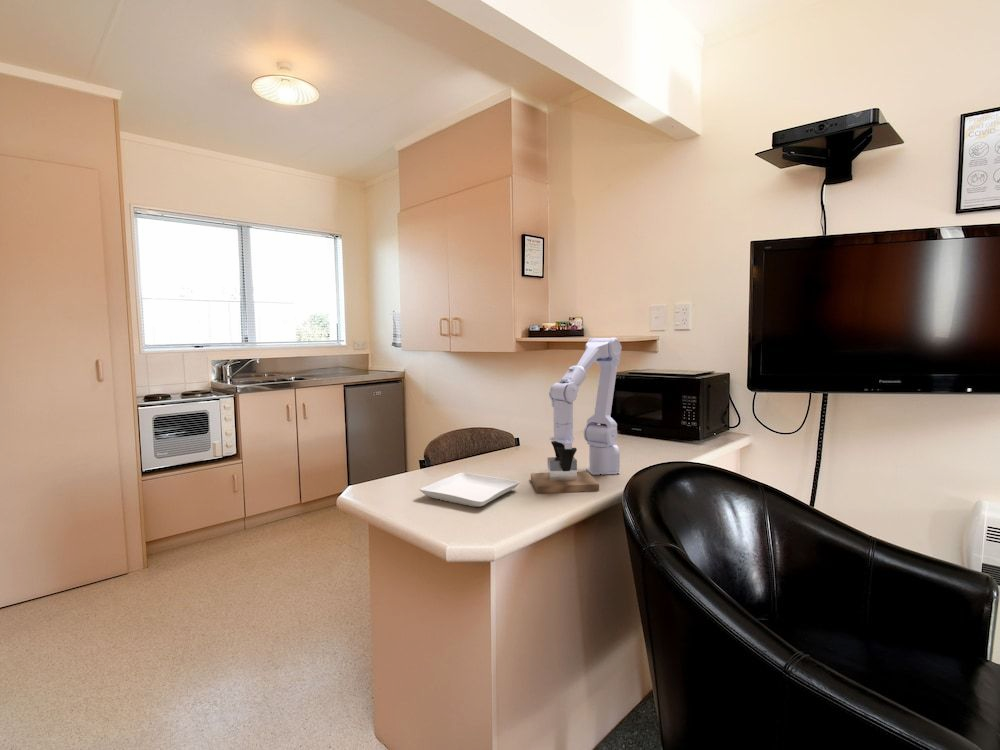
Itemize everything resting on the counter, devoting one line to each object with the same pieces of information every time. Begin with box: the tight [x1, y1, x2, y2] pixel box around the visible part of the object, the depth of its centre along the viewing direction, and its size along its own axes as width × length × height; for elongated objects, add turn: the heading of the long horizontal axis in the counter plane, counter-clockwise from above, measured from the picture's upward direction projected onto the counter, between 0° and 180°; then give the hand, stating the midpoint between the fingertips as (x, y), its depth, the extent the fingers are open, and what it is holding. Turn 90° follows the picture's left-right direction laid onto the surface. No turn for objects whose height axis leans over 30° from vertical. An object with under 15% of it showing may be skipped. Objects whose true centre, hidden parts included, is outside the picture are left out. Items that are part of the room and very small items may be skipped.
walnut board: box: [530, 470, 600, 494], centre depth 149 cm, size 18×14×2 cm
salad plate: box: [419, 472, 520, 508], centre depth 141 cm, size 21×21×3 cm
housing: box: [547, 456, 578, 481], centre depth 149 cm, size 4×8×6 cm, turn 94°
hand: (563, 467), depth 149 cm, fingers open, 7 cm apart
